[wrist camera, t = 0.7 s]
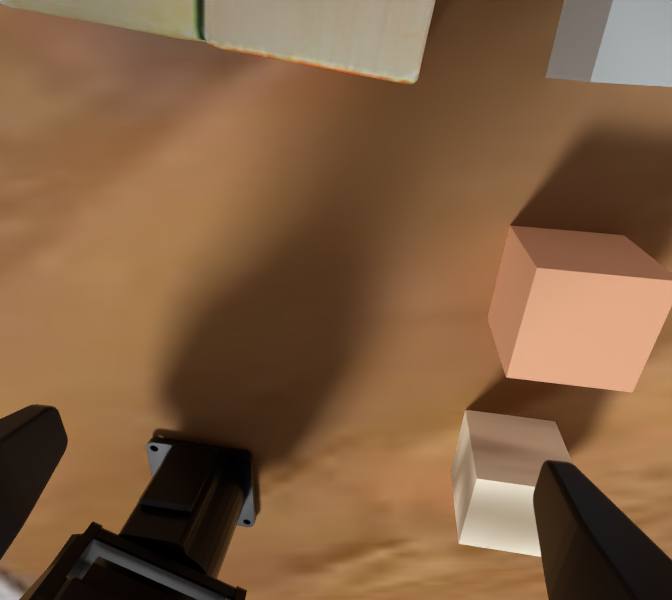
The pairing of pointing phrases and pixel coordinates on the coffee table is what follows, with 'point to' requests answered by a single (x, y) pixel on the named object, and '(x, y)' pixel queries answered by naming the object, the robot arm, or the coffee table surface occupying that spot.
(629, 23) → the blue grey block
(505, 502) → the cream block
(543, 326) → the terracotta block
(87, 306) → the coffee table surface
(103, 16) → the stack of blocks
